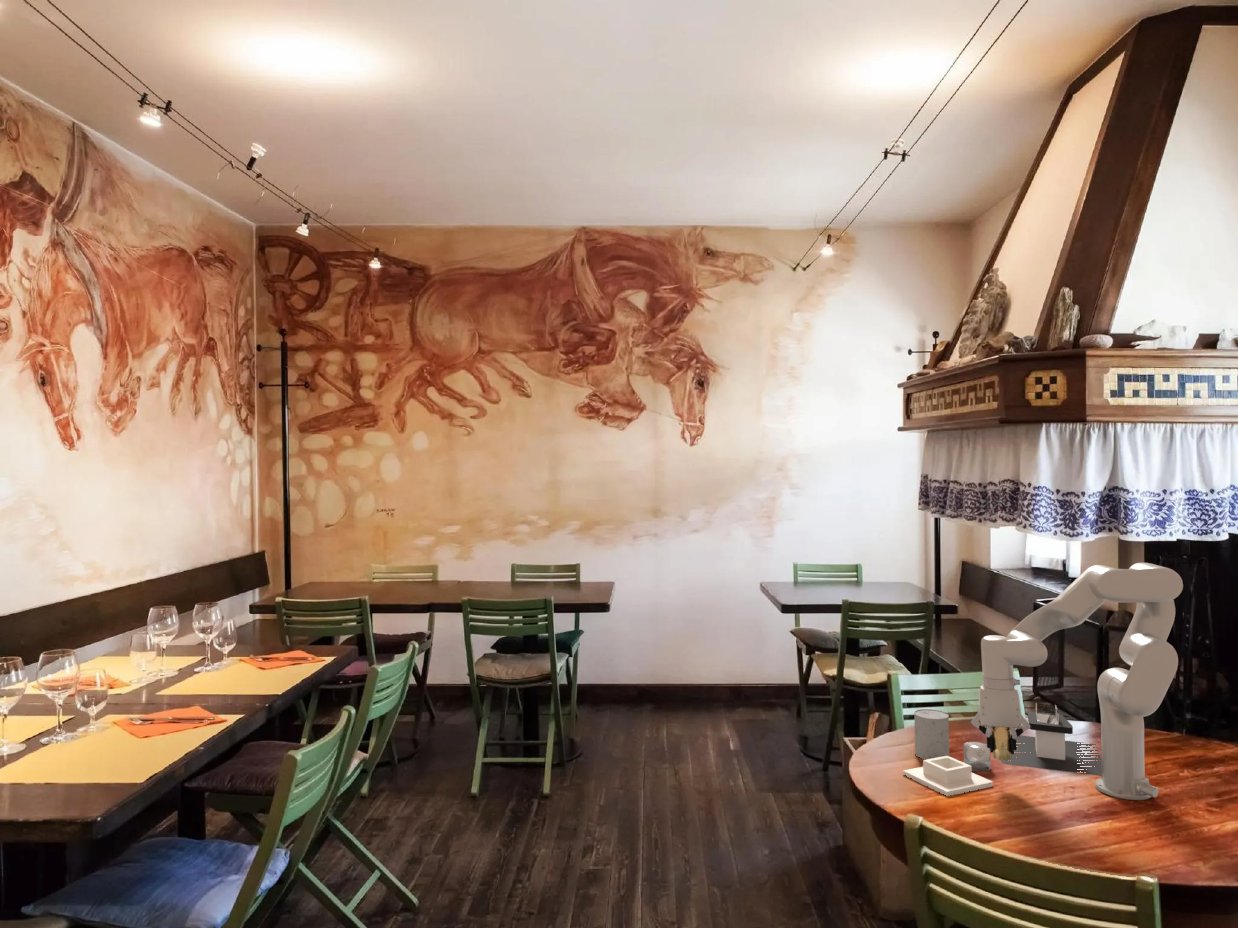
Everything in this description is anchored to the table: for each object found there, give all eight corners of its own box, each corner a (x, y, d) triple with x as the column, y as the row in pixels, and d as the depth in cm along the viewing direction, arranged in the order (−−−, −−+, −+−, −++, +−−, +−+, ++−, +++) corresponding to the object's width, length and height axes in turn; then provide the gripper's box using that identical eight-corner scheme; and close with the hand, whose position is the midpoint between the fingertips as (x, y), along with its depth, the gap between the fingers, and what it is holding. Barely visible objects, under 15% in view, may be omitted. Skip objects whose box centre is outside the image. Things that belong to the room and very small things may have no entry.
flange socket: (993, 786, 214) (993, 768, 214) (947, 796, 208) (946, 778, 208) (947, 765, 228) (947, 749, 229) (903, 774, 222) (902, 757, 222)
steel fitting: (995, 769, 226) (995, 747, 226) (977, 773, 223) (977, 751, 223) (976, 761, 232) (976, 740, 232) (958, 764, 229) (958, 743, 229)
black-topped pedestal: (1108, 777, 219) (1107, 728, 219) (1001, 763, 230) (1000, 716, 230) (1095, 744, 245) (1095, 700, 245) (1000, 733, 256) (999, 691, 256)
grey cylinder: (943, 750, 241) (943, 709, 241) (953, 762, 231) (953, 719, 231) (910, 749, 242) (910, 708, 242) (919, 761, 232) (919, 718, 232)
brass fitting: (1015, 758, 213) (1013, 724, 213) (1002, 761, 212) (1001, 727, 212) (1001, 753, 217) (999, 720, 218) (989, 756, 216) (987, 722, 216)
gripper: (1032, 681, 215) (1035, 749, 215) (963, 677, 221) (967, 744, 221) (1035, 688, 208) (1038, 759, 208) (964, 684, 214) (967, 753, 214)
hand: (1001, 750), depth 214 cm, fingers closed on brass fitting, 4 cm apart
